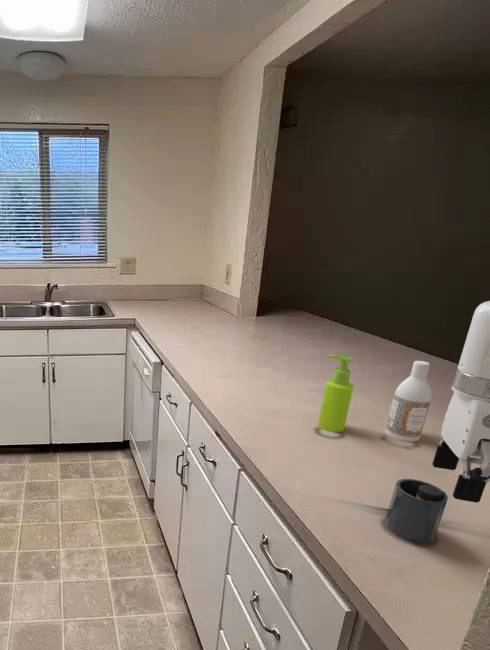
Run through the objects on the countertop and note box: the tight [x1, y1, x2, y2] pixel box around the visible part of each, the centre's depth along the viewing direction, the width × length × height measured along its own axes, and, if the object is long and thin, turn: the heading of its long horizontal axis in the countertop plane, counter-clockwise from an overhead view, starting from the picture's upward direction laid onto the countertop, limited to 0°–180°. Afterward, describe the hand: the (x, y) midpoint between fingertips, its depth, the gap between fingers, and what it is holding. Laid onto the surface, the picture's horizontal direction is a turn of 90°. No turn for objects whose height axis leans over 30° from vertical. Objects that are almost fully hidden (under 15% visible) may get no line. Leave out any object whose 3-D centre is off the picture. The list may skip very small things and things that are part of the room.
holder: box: [385, 478, 449, 544], centre depth 74 cm, size 7×7×8 cm
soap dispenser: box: [317, 353, 355, 433], centre depth 107 cm, size 6×7×20 cm
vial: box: [416, 485, 442, 501], centre depth 73 cm, size 8×3×3 cm
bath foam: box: [384, 360, 432, 443], centre depth 103 cm, size 7×7×20 cm
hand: (453, 482), depth 71 cm, fingers open, 9 cm apart
